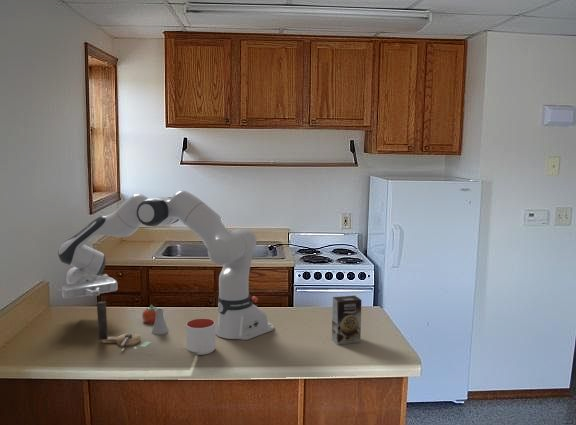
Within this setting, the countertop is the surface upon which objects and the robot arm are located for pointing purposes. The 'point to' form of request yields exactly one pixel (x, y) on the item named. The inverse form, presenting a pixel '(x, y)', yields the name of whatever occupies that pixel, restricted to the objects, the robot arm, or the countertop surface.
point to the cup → (200, 336)
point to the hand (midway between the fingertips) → (95, 293)
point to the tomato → (149, 314)
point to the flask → (159, 323)
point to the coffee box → (346, 320)
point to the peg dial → (102, 330)
